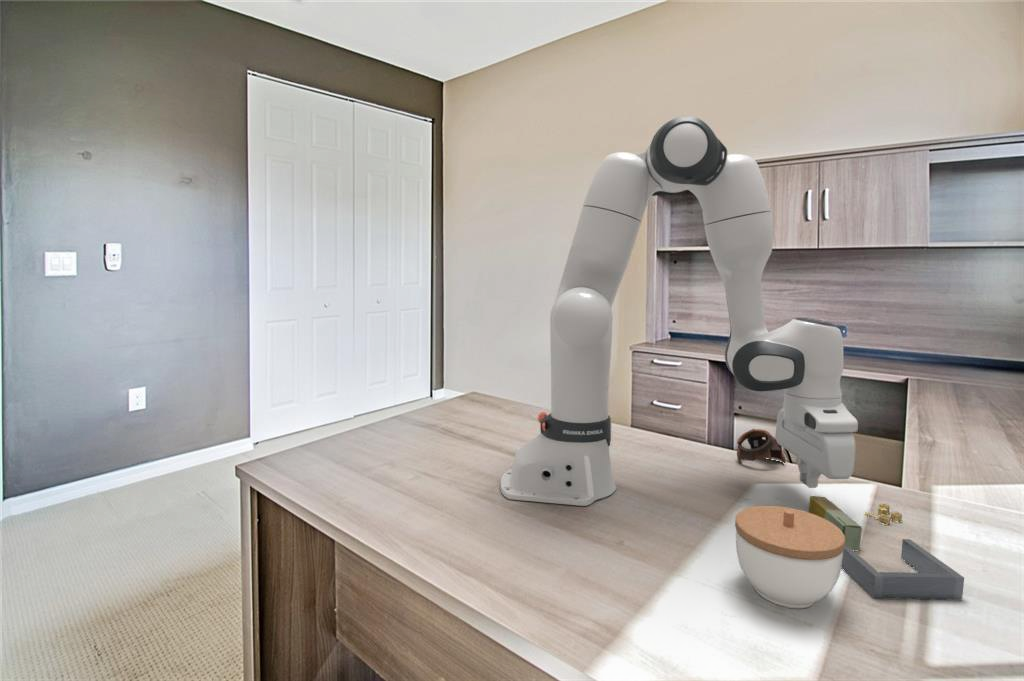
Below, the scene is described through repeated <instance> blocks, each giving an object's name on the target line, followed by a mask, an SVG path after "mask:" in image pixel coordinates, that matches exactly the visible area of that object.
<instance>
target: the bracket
mask: <svg viewBox="0 0 1024 681" xmlns="http://www.w3.org/2000/svg"><path fill="white" fill-rule="evenodd" d="M901 542H902V544H901V554H900V559H901V558H902V559H903V560H905V561H906V562H907V563H909V564H910V565H911V566H913V567H914V568H915V569H916V570H917V571H916V570H915V569H914V568H913V569H914V570H915V571H916V572H894V571H893V572H890V571H889V572H887V571H885V572H883V571H878V570H877V569H876V568H874V567H873V566H872V565H871V564H870V563H868V561H866V560H865V559H864V558H863V557H862V556H860V554H858V553H857V551H853V550H852V549H851V548H850V547H849V546H848V545H846V544H845V548H844V551H843V559H842V566H841V567H842V568H843V569H844V570H845V571H846V572H847V573H848V576H850V577H851V578H852V579H853V580H854V581H855V582H856V583H857V584H858V585H859V586H860V587H861V588H862V589H863V590H864V591H866V593H867V594H868V595H869V596H870V597H871V598H872V599H884V598H917V599H916V600H946V599H962V600H963V595H964V594H963V593H964V585H965V577H964V576H963V575H962V574H961V573H958V572H957V571H956V570H954V569H952V568H951V567H950V566H949V565H947V564H946V563H944V562H943V561H942V560H940V559H939V558H937V557H936V556H934V555H933V554H932V553H930V552H929V551H927V550H926V549H924V548H923V547H921V546H920V545H919V544H917V543H916V542H915V541H913V540H912V539H910V538H903V539H902V541H901ZM902 559H901V560H902ZM903 560H902V561H903ZM905 561H904V562H905ZM906 562H905V563H906ZM907 563H906V564H907ZM909 564H908V565H909ZM910 565H909V566H910ZM911 566H910V567H911ZM842 568H841V569H842ZM843 569H842V570H843ZM844 570H843V571H844ZM845 571H844V572H845ZM846 572H845V573H846ZM847 573H846V574H847ZM919 598H920V599H919Z"/></svg>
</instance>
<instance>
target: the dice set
mask: <svg viewBox="0 0 1024 681" xmlns="http://www.w3.org/2000/svg"><path fill="white" fill-rule="evenodd" d="M890 510H891V509H890V505H889V504H888V503H882V502H881V503H879V504H878V508H877V515H875V514H874V515H872V512H868V511H864V516H865V515H869V516H872V517H873V518H874V517H875V518H877V519H878V518H879V520H878V522H879V521H880V522H881V523H884V524H890V525H891V519H892V520H894V521H898V522H900V521H901V522H902V520H903V514H902V513H901V512H898V511H891V512H890ZM887 513H889V514H890V515H888V514H887ZM878 515H880V516H878ZM875 518H874V519H875ZM901 522H900V523H901Z"/></svg>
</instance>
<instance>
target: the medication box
mask: <svg viewBox="0 0 1024 681" xmlns="http://www.w3.org/2000/svg"><path fill="white" fill-rule="evenodd" d="M807 510H808V511H807V512H808V513H811V514H814V515H817V516H819V517H822V518H824V519H826V520H828V521H830V522H831V523H833V524H834V525H836V526H837V527H838V528H839V529H840V530H841V531H842V532H843V534H844V536H845V544H846V545H848V546H849V547H850V548H851V549H852V550H859V551H860V548H861V540H862V533H863V527H862V526H861V525H859V524H858V523H857V522H856V521H855V520H853V519H852V518H851V517H850V516H849V515H848V514H846V513H845V512H844V511H843V510H841V508H839V507H838V506H837V505H836V504H835V503H833V502H832V501H830V499H828V497H826V496H817V495H809V502H808V509H807Z"/></svg>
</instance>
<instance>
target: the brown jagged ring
mask: <svg viewBox="0 0 1024 681" xmlns="http://www.w3.org/2000/svg"><path fill="white" fill-rule="evenodd" d="M746 440H747V442H748V445H749V446H750V448H747V447H745V446H743V445H742V444H743V443H744V442H745V441H746ZM736 451H737V452H736V457H737V460H738V462H739V461H741V462H742V461H751V462H753V461H754V462H755V461H759V460H762V459H770V460H772V458H773V459H778V460H780V461H781V462H782V463H783V462H784V463H785V464H786V455H785V454H784V452H783V447H782V446H780V445H779V444H778V443H777V441H776V437H775V436H773V435H772V434H771V433H770V432H769V431H767V430H765V429H761V428H758V429H756V428H752V429H750V430H748V431H745V432H744V433H743V434H741V435H740V436H739V438H738V439H737V450H736Z"/></svg>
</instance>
